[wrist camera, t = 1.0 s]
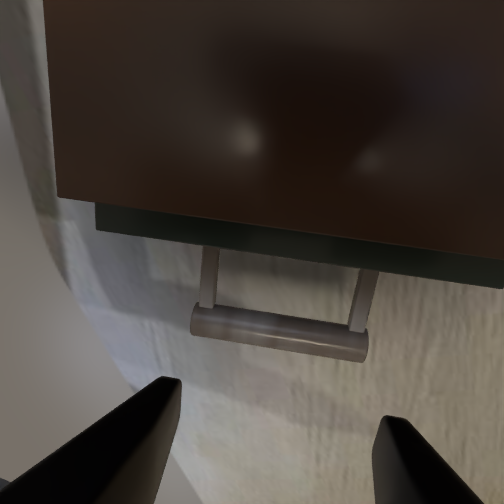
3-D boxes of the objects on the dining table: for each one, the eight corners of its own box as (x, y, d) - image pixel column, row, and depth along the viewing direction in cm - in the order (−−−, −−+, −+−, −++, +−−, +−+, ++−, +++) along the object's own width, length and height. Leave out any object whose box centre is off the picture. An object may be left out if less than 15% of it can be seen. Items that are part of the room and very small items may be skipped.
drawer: (403, 317, 19) (454, 418, 13) (163, 280, 20) (99, 358, 14) (553, -201, 13) (819, -529, 6) (178, -222, 13) (65, -525, 7)
